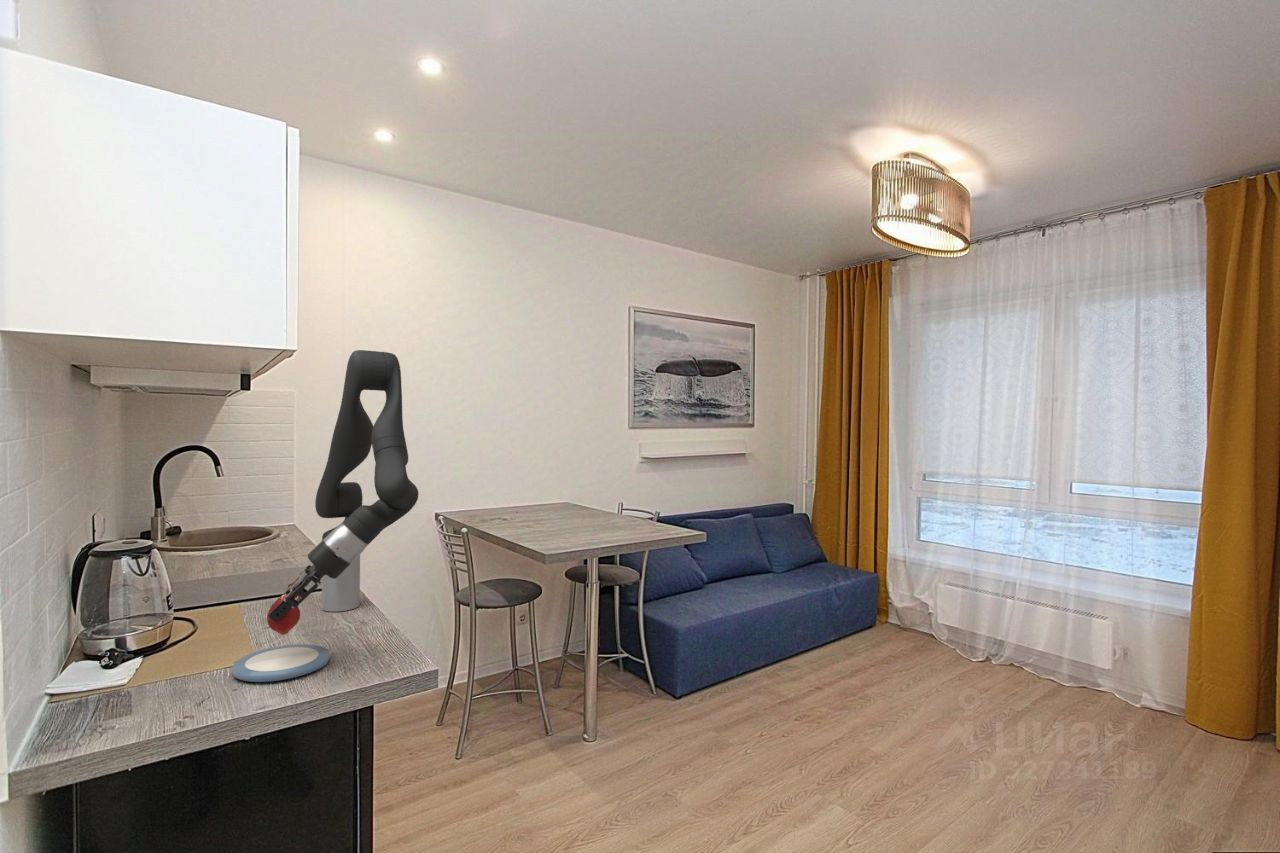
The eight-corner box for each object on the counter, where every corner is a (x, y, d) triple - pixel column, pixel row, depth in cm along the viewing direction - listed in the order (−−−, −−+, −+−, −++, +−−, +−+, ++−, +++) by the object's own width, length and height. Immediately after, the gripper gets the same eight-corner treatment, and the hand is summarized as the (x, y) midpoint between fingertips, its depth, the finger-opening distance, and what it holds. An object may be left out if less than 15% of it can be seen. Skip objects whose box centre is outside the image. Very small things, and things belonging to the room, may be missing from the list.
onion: (285, 640, 127) (285, 599, 127) (260, 638, 128) (259, 598, 128) (306, 631, 133) (306, 592, 133) (282, 629, 134) (281, 590, 134)
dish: (237, 660, 134) (237, 651, 134) (328, 648, 142) (328, 639, 142) (227, 691, 119) (227, 681, 119) (330, 675, 127) (330, 666, 127)
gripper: (324, 533, 140) (260, 594, 135) (324, 544, 127) (254, 612, 122) (351, 555, 142) (289, 616, 137) (354, 568, 129) (286, 636, 124)
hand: (273, 614), depth 129 cm, fingers closed on onion, 5 cm apart
